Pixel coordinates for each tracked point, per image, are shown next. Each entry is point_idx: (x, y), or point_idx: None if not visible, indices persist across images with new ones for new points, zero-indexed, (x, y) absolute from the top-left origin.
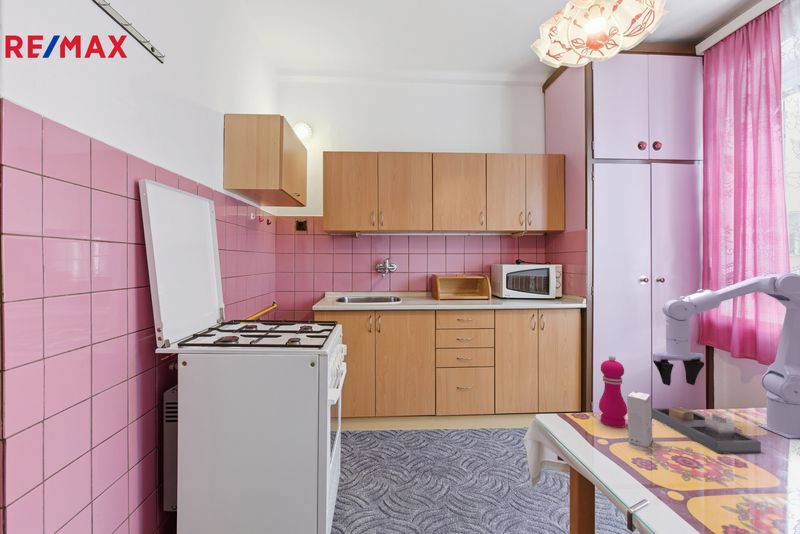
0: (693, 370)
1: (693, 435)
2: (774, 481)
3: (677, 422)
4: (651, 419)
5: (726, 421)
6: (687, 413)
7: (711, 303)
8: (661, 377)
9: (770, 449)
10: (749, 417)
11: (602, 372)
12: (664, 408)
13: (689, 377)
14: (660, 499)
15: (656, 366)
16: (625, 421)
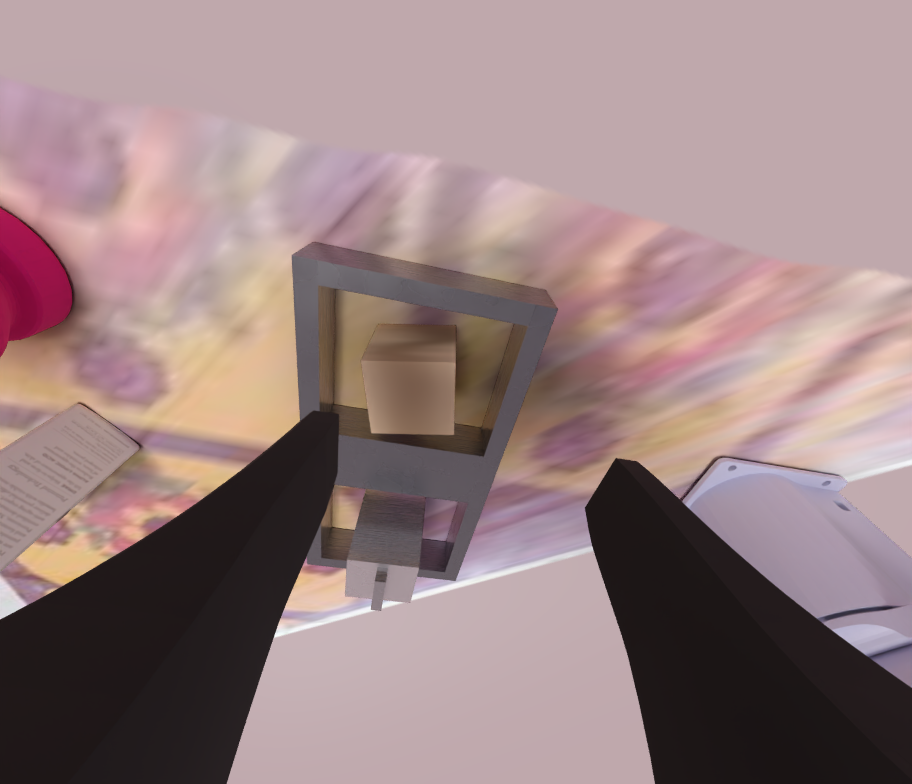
0: (661, 710)
1: None
2: (331, 605)
3: None
4: (58, 520)
5: (393, 593)
6: (410, 430)
7: None
8: (267, 455)
9: (505, 547)
10: (842, 391)
11: None
12: (398, 287)
13: (631, 550)
14: (21, 597)
15: (16, 620)
16: (48, 323)
